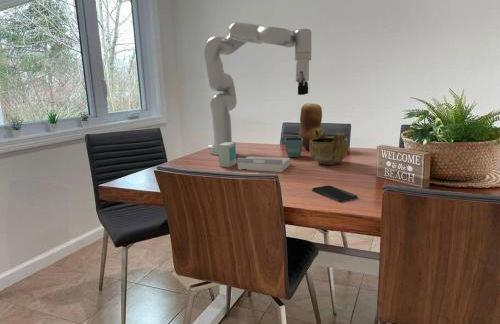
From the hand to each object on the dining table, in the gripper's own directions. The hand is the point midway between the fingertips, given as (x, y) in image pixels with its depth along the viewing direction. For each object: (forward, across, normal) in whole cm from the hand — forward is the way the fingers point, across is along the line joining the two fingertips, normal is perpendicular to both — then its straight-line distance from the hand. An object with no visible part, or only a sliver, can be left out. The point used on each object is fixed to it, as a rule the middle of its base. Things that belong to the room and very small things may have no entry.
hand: (303, 94), depth 172 cm
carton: (+31, +22, -31) cm, 49 cm away
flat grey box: (+31, +23, -13) cm, 41 cm away
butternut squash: (+31, -22, 0) cm, 38 cm away
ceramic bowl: (+31, +12, +13) cm, 36 cm away
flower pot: (+31, -1, -5) cm, 31 cm away
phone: (+31, +57, +20) cm, 68 cm away
